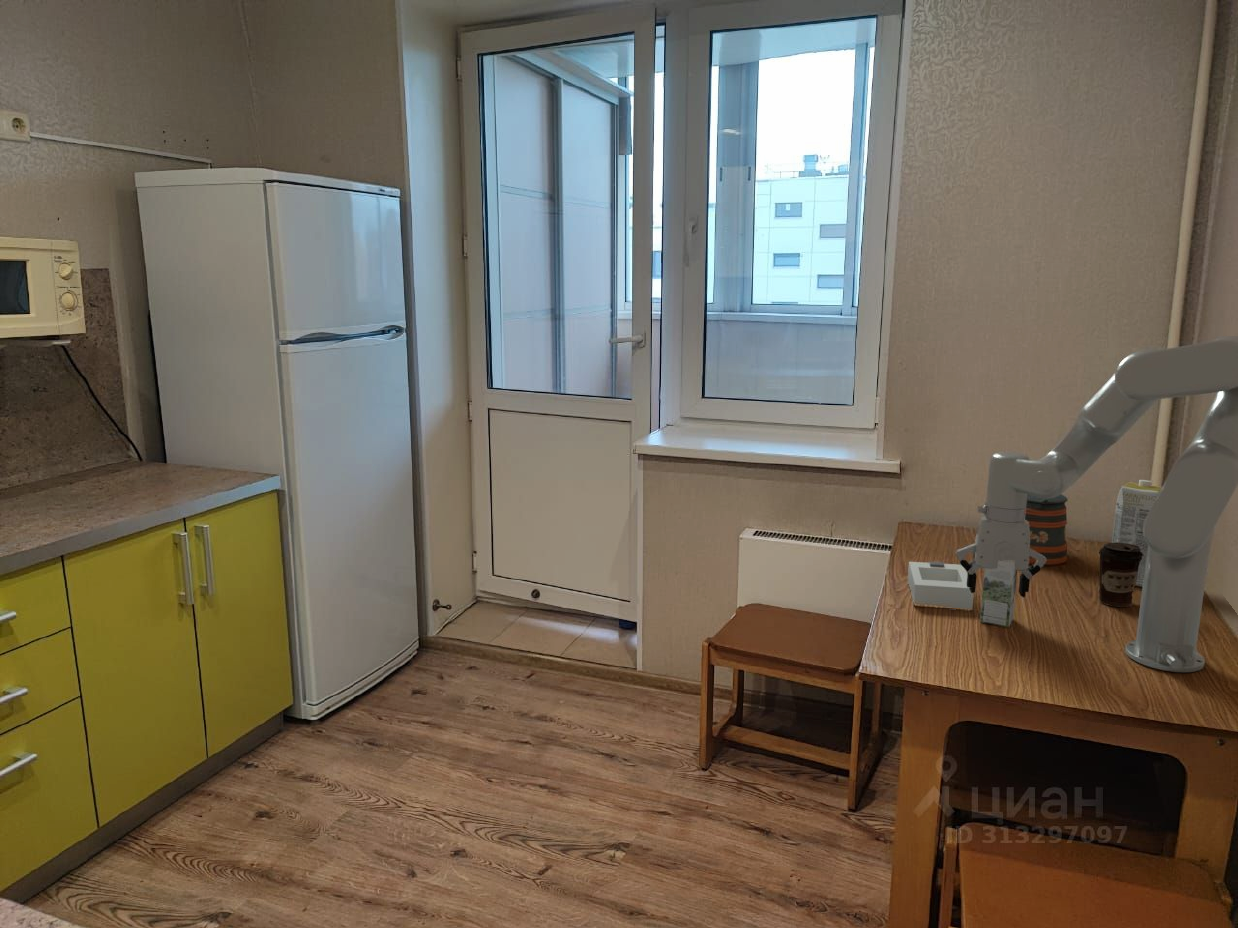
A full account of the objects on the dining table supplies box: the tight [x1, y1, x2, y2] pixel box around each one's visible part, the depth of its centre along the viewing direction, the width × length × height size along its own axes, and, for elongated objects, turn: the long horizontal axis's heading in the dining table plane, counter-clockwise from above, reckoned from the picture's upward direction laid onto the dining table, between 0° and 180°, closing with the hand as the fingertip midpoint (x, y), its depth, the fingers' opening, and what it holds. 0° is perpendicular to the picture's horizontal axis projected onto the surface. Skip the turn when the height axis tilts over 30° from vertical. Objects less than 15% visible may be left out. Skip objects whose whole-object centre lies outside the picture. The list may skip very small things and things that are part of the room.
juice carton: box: [1111, 479, 1162, 587], centre depth 201 cm, size 9×8×24 cm
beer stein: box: [1025, 493, 1069, 566], centre depth 222 cm, size 19×15×20 cm
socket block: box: [907, 560, 975, 610], centre depth 195 cm, size 16×12×6 cm
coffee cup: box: [1098, 542, 1143, 608], centre depth 189 cm, size 9×8×13 cm
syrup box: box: [979, 560, 1018, 628], centre depth 180 cm, size 6×6×14 cm
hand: (996, 592), depth 180 cm, fingers open, 9 cm apart
